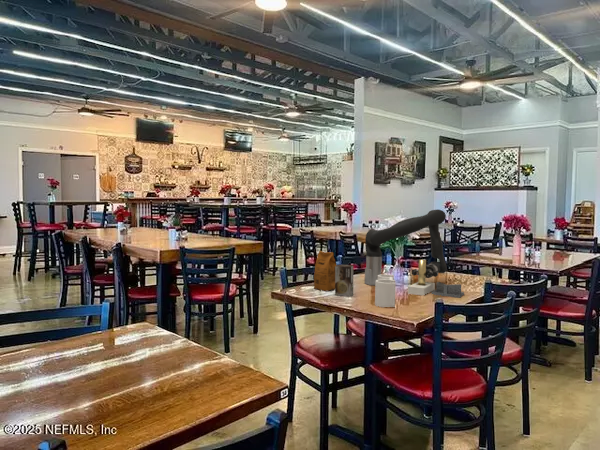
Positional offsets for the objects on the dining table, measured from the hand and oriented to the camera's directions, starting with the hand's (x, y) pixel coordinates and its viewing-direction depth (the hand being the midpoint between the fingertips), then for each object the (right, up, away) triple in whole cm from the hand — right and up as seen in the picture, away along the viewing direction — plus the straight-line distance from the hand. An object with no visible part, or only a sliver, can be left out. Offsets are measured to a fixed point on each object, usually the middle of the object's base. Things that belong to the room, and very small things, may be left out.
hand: (420, 274), depth 257 cm
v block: (+13, -11, -5) cm, 18 cm away
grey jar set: (-25, -12, -24) cm, 37 cm away
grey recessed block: (+1, -10, +2) cm, 10 cm away
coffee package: (-54, -9, +6) cm, 55 cm away
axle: (+1, -10, +2) cm, 10 cm away
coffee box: (-44, -10, -9) cm, 46 cm away
